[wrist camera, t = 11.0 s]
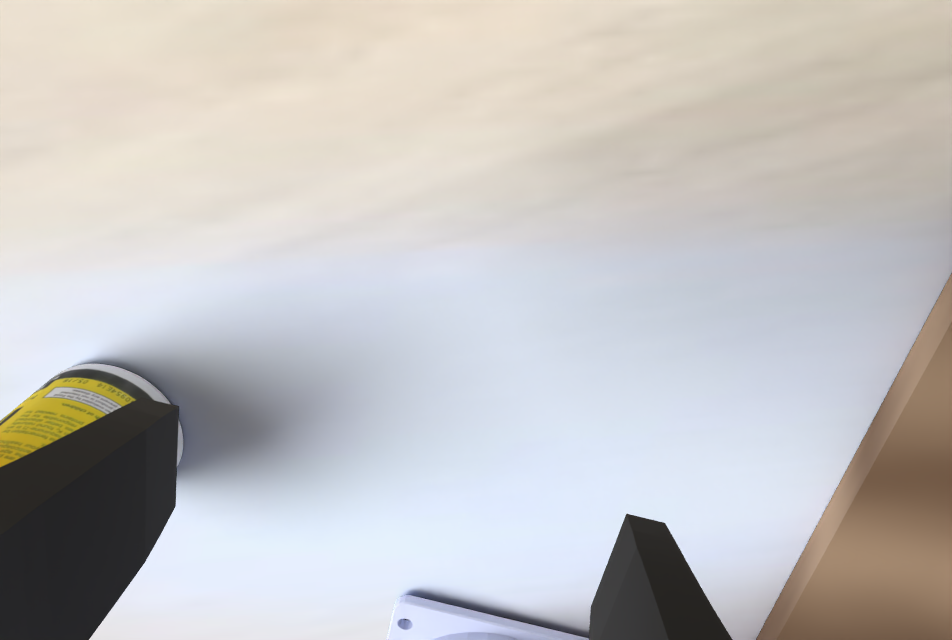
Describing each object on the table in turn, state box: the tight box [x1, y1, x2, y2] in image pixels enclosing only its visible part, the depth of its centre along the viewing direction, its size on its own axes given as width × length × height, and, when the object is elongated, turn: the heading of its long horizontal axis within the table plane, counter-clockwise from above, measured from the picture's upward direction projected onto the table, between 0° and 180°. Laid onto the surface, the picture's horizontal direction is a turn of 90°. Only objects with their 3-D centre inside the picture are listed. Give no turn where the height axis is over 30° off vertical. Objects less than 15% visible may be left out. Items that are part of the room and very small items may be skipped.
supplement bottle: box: [0, 364, 183, 467], centre depth 21 cm, size 5×5×8 cm
